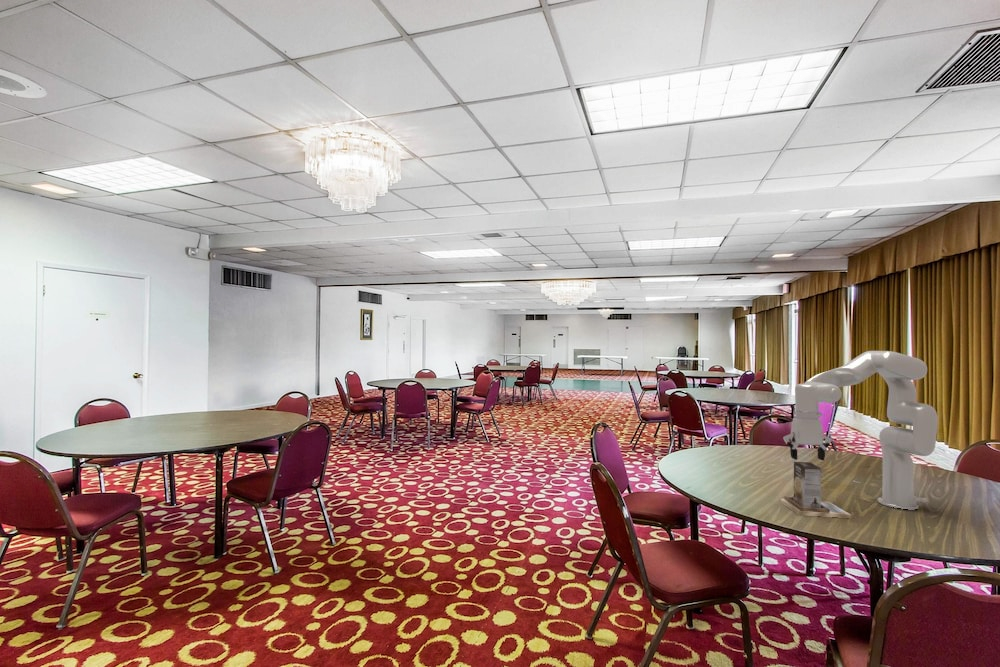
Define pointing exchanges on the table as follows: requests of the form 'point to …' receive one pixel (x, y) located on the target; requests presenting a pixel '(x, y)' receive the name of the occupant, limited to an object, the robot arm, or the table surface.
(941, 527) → the table surface
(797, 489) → the coffee box
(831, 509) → the build board
